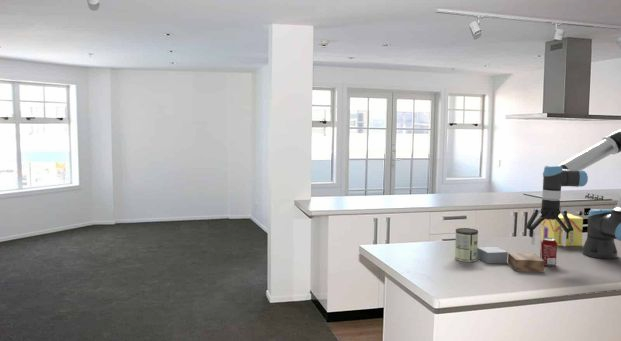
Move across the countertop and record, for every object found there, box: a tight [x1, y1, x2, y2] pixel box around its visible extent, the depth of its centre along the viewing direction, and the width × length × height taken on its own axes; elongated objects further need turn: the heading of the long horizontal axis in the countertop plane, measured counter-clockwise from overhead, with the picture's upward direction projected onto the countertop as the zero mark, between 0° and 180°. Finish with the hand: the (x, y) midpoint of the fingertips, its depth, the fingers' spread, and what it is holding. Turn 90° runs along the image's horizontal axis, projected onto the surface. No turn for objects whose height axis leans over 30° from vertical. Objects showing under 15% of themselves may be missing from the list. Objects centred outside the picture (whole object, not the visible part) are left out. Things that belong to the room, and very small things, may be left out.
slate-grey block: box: [477, 246, 509, 264], centre depth 234 cm, size 10×10×5 cm
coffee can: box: [454, 227, 479, 263], centre depth 235 cm, size 10×10×14 cm
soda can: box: [539, 238, 558, 267], centre depth 226 cm, size 7×7×12 cm
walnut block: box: [507, 252, 545, 273], centre depth 221 cm, size 12×12×5 cm
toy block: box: [540, 212, 584, 247], centre depth 271 cm, size 15×15×15 cm
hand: (548, 245), depth 226 cm, fingers open, 13 cm apart
